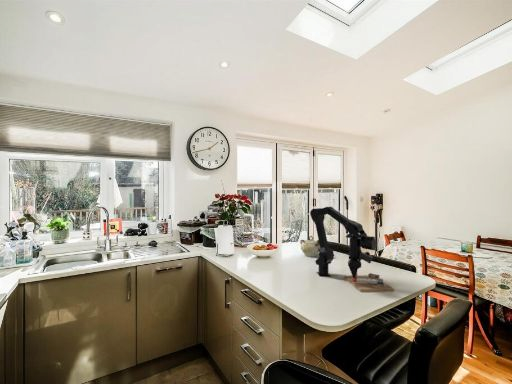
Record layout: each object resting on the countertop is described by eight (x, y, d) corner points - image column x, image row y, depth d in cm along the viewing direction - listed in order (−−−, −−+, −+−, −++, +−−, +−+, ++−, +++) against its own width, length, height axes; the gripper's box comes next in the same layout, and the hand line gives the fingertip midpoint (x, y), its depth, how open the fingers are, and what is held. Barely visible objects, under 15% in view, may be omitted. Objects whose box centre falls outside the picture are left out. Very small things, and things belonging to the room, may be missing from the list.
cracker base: (344, 277, 143) (344, 271, 143) (373, 277, 144) (373, 270, 144) (360, 291, 123) (360, 284, 123) (393, 291, 124) (393, 283, 124)
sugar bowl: (327, 256, 190) (327, 236, 190) (315, 259, 180) (315, 239, 180) (306, 251, 205) (306, 233, 205) (294, 254, 196) (294, 235, 195)
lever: (382, 282, 130) (382, 270, 130) (383, 284, 127) (383, 272, 127) (351, 280, 133) (351, 268, 133) (352, 282, 130) (352, 270, 130)
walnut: (367, 279, 137) (367, 272, 137) (373, 279, 137) (373, 272, 137) (370, 281, 133) (370, 274, 133) (376, 281, 133) (376, 274, 133)
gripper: (372, 252, 122) (372, 284, 121) (370, 245, 139) (369, 274, 139) (348, 249, 126) (347, 280, 125) (349, 243, 143) (348, 271, 143)
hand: (354, 276), depth 133 cm, fingers open, 5 cm apart
